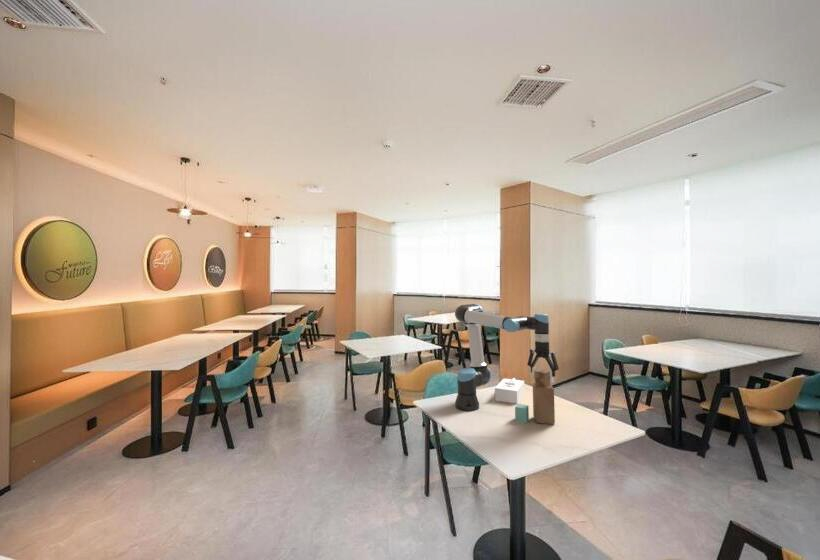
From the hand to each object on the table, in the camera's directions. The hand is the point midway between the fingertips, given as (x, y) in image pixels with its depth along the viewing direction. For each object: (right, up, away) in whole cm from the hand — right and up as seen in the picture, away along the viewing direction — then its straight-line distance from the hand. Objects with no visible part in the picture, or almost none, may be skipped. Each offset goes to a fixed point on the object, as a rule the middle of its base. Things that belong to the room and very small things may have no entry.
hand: (542, 380), depth 188 cm
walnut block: (0, -3, 0) cm, 3 cm away
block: (0, -23, 0) cm, 23 cm away
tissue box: (-6, -24, +41) cm, 48 cm away
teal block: (-12, -23, +1) cm, 26 cm away
